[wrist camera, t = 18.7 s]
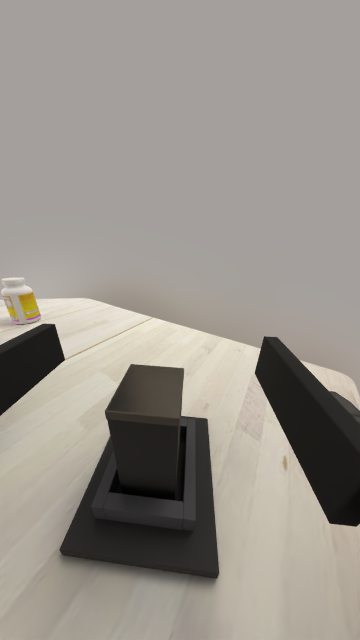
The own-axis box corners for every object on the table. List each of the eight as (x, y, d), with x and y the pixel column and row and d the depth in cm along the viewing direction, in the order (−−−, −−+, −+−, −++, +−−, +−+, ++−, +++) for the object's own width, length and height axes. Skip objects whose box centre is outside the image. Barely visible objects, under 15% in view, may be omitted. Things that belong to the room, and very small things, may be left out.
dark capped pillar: (175, 501, 15) (179, 418, 11) (121, 494, 16) (104, 411, 11) (180, 442, 20) (184, 368, 16) (138, 437, 20) (130, 363, 16)
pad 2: (217, 578, 12) (223, 565, 11) (61, 555, 13) (51, 539, 12) (206, 423, 23) (208, 407, 22) (122, 414, 24) (120, 399, 23)
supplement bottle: (44, 315, 56) (32, 276, 51) (37, 323, 50) (22, 280, 45) (19, 317, 54) (3, 277, 49) (8, 326, 48) (-10, 281, 43)
